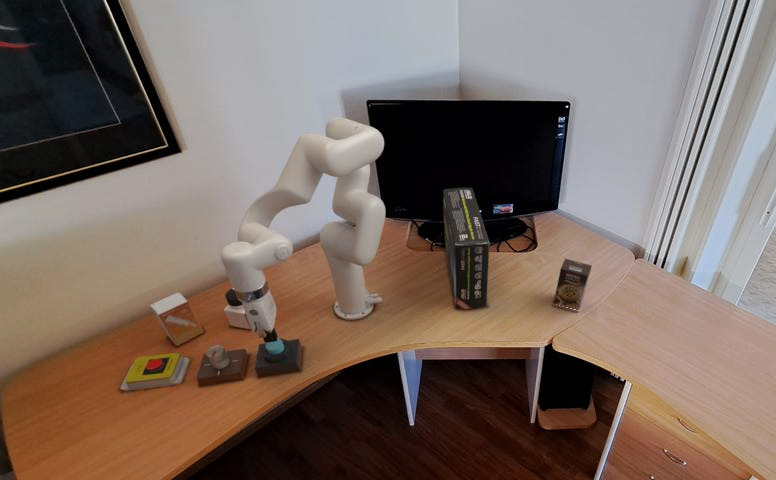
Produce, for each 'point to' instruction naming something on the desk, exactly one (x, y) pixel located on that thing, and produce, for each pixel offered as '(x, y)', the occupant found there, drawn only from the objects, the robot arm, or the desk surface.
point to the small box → (177, 318)
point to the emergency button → (155, 371)
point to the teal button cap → (275, 347)
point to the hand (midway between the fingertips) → (271, 339)
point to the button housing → (279, 359)
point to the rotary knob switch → (223, 369)
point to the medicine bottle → (235, 311)
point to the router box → (466, 248)
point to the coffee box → (572, 285)
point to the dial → (218, 356)
